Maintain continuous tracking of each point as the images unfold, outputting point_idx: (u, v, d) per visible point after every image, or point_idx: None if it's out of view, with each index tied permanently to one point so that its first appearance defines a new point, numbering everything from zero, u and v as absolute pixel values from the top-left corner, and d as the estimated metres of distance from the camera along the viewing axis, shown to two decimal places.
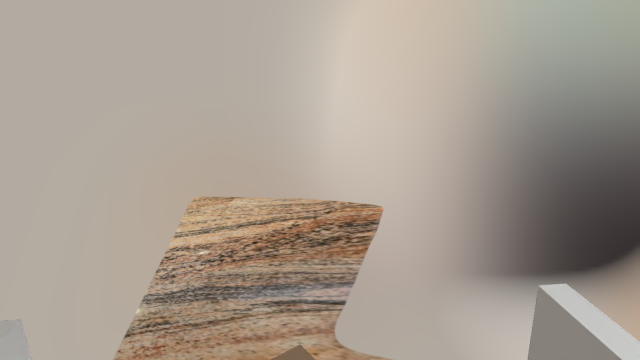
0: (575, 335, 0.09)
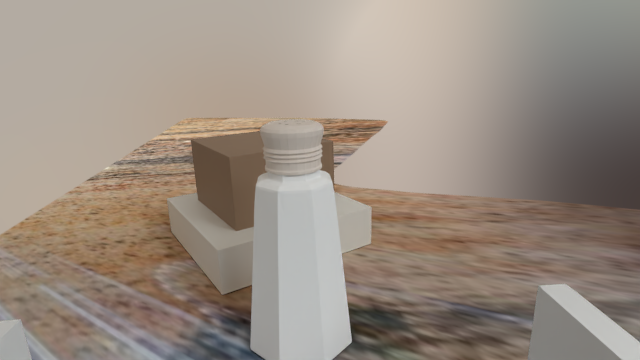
0: (576, 335, 0.09)
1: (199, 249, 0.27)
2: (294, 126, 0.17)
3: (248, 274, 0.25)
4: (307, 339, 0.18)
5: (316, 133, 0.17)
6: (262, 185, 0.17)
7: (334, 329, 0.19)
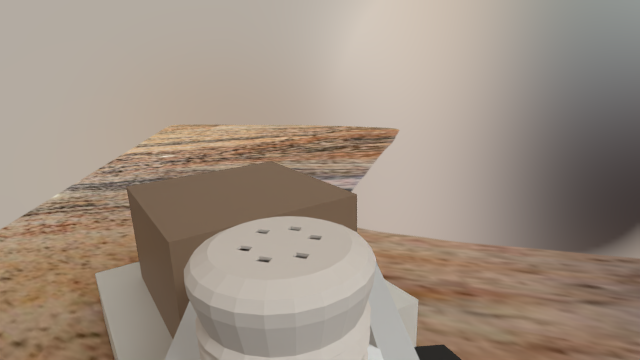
0: None
1: None
2: (288, 279, 0.05)
3: None
4: None
5: (360, 295, 0.05)
6: None
7: None
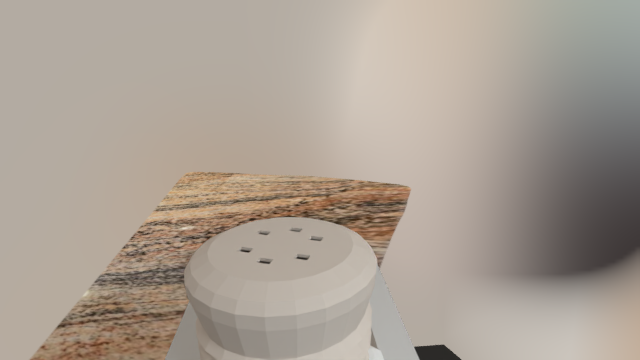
0: None
1: None
2: (289, 281, 0.05)
3: None
4: None
5: (362, 298, 0.05)
6: None
7: None
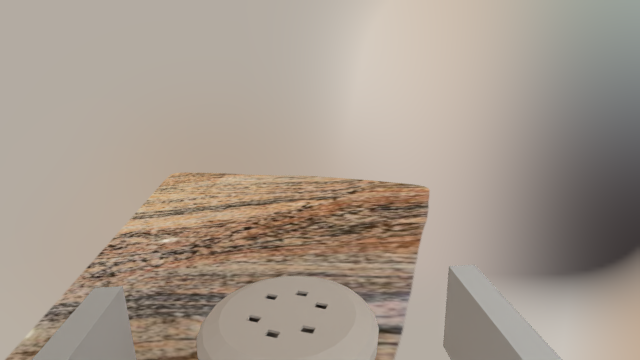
0: (470, 308, 0.10)
1: None
2: None
3: None
4: None
5: None
6: None
7: None
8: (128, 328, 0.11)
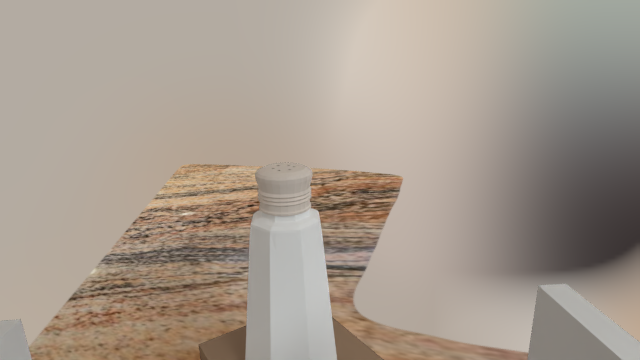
0: (575, 335, 0.09)
1: None
2: (285, 173, 0.19)
3: None
4: None
5: (305, 179, 0.19)
6: (256, 224, 0.19)
7: (321, 353, 0.21)
8: None
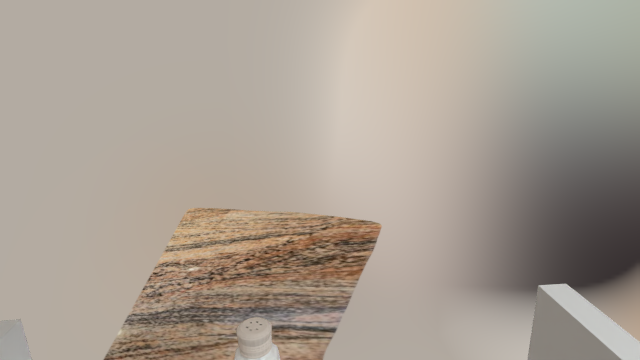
0: (576, 335, 0.09)
1: None
2: (253, 334, 0.31)
3: None
4: None
5: (266, 337, 0.31)
6: None
7: None
8: None
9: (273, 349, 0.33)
